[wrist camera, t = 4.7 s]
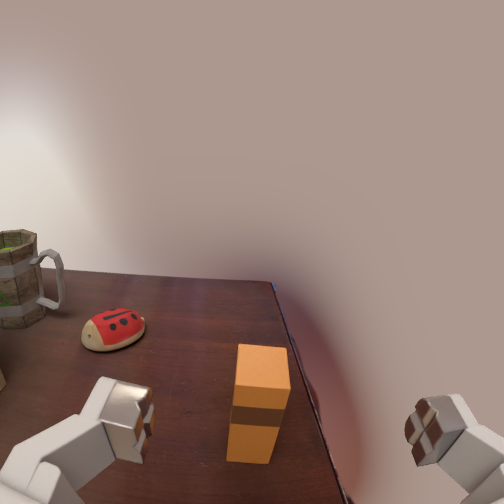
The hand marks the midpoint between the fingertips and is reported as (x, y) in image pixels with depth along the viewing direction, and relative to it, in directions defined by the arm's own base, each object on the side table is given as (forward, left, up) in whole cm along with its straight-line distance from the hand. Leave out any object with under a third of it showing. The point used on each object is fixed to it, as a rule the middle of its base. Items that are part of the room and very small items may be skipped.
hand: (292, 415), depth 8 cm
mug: (+28, +35, -20) cm, 49 cm away
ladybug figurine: (+27, +19, -20) cm, 39 cm away
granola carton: (+13, 0, -20) cm, 24 cm away
